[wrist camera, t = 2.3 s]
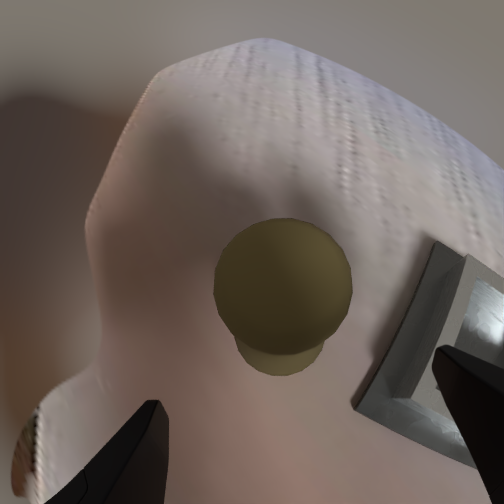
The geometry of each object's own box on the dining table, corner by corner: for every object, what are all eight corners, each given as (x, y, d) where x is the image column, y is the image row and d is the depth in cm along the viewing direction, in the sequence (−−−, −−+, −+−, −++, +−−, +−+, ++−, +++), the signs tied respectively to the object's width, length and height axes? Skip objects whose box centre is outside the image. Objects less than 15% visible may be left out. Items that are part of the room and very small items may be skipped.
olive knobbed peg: (229, 294, 21) (188, 206, 11) (316, 280, 21) (347, 183, 11) (240, 382, 19) (200, 375, 9) (333, 366, 19) (393, 341, 9)
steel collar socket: (488, 473, 13) (515, 480, 10) (353, 409, 17) (369, 413, 14) (543, 321, 18) (568, 309, 14) (434, 243, 22) (453, 221, 18)
